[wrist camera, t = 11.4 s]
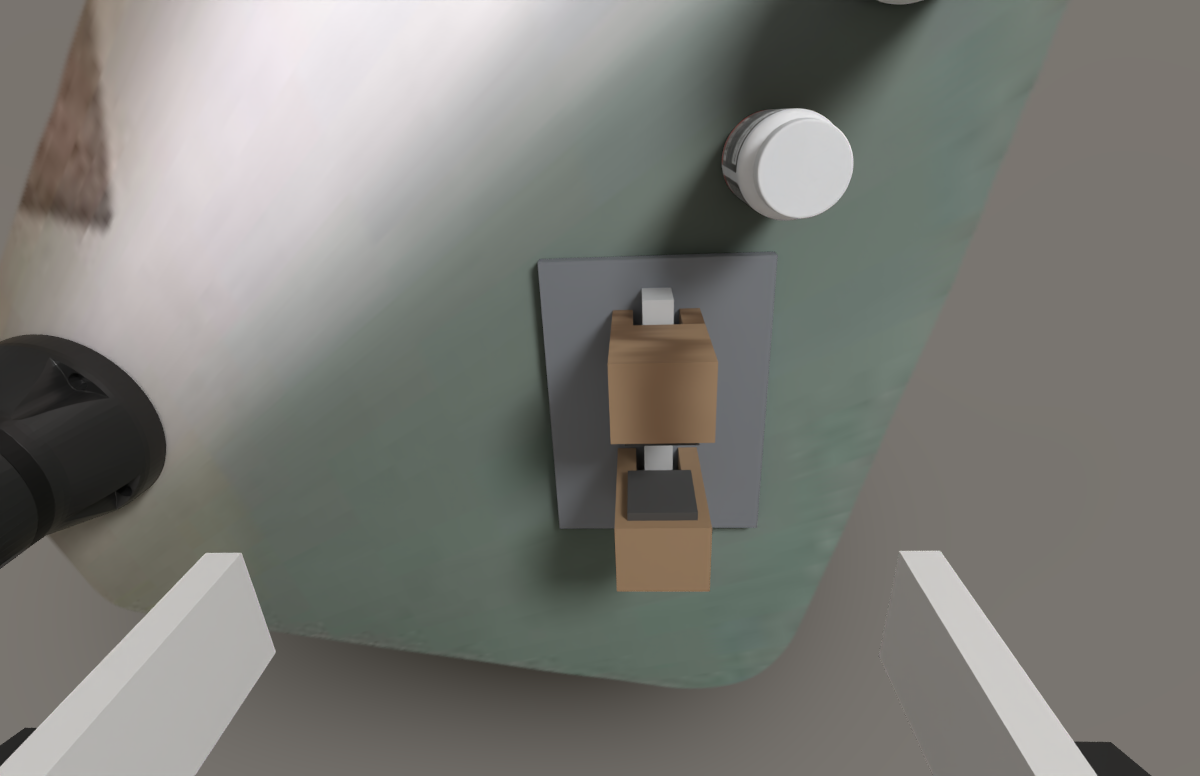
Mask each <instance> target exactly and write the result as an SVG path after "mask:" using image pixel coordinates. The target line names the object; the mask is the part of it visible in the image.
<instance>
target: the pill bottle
mask: <svg viewBox="0 0 1200 776" xmlns="http://www.w3.org/2000/svg"><path fill="white" fill-rule="evenodd" d="M722 171H723V175H724V178H725V181H726V183H727V185H728V187H729V188H730V190H731V191H732V192H733V193H734V194H735V195H736V196H737V197H738V198H739V199H741V200H742V201H743V202H745V203H746V204H747V205H749V206H750V207H751V208H753V209H754V210H755V211H757V212H758V213H760V214H762V215H764V216H766V217H769V218H772V219H776V220H795V219H799V218H808V217H813V216H816V215H818V214H820V213H822V212H824V211H826V210H828V209H829V208H830V207H832V206H833V205H834V204H835V203H836V202H837V201H838V200H839V199H840V198H841V196H842V195H843V194H844V192H845V190H846V189H847V186H848V184H849V182H850V179H851V176H852V171H853V154H852V150H851V146H850V144H849V142H848V140H847V138H846V137H845V135H844V134H843V133H842V132H841V131H840V130H839V129H838V128H837V127H836V126H834V125H833V124H832V123H831V122H830V121H829V120H828V119H827V118H826V117H824V116H823V115H821V114H819V113H817V112H814V111H812V110H807V109H801V108H789V109H769V110H763V111H759V112H756V113H754V114H751V115H750V116H748V117H746V118H745V119H743V120H742V121H741V122H740V123H739V124H738V125H737V126H736V127H735V128H734V129H733V130H732V132H731V133H730V135H729V136H728V138H727V140H726V143H725V146H724V149H723V153H722Z"/></svg>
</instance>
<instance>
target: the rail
mask: <svg viewBox="0 0 1200 776" xmlns="http://www.w3.org/2000/svg"><path fill="white" fill-rule="evenodd" d="M777 257H778V255H777V254H776V253H775V252H748V253H717V254H685V255H653V256H622V257H590V258H558V259H539V261H538V274H539V286H540V298H541V310H542V322H543V334H544V346H545V358H546V370H547V381H548V393H549V405H550V417H551V429H552V441H553V453H554V465H555V477H556V489H557V501H558V513H559V525H560V529H581V528H615V554H616V579H617V591H710V570H711V544H712V528H757V521H758V507H759V494H760V481H761V468H762V455H763V441H764V428H765V415H766V402H767V389H768V375H769V362H770V349H771V336H772V323H773V309H774V296H775V283H776V270H777ZM683 308H700V310H701V313H702V316H703V319H704V322H705V325H706V328H707V331H708V334H709V337H710V339H711V342H712V345H713V348H714V351H715V354H716V357H717V360H718V380H717V405H716V431H715V443H699V445H678V446H625V444H611V438H610V413H609V388H608V355H609V344H610V334H611V323H612V313H613V310H633V325H668V324H679V309H683Z"/></svg>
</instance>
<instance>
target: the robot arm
mask: <svg viewBox="0 0 1200 776" xmlns="http://www.w3.org/2000/svg"><path fill="white" fill-rule="evenodd" d="M165 454H166V443H165V436H164V431H163V428H162V425H161V422H160V419H159V417H158V415H157V413H156V411H155V409H154V407H153V405H152V403H151V402H150V400H149V399H148V397H147V396H146V395H145V393H144V392H143V391H142V389H141V388H140V387H139V386H138V385H137V384H136V382H135V381H134V380H133V379H132V378H131V377H130V376H129V375H128V374H126V373H125V372H124V371H123V370H122V369H121V368H119V367H118V366H117V365H116V364H114V363H113V362H112V361H110V360H109V359H107V358H106V357H104V356H102V355H101V354H99V353H97V352H95V351H94V350H92V349H90V348H88V347H85V346H83V345H81V344H78V343H76V342H73V341H70V340H67V339H63V338H59V337H54V336H48V335H22V336H16V337H12V338H9V339H6V340H3V341H1V342H0V569H1V568H2V567H3V566H5V565H6V564H7V563H9V562H10V561H11V560H13V559H14V558H16V557H17V556H18V555H20V554H21V553H22V552H23V551H25V550H26V549H27V548H29V547H30V546H32V545H33V544H34V543H36V542H37V541H39V540H40V539H41V538H43V537H44V536H46V535H48V534H51V533H54V532H56V531H59V530H62V529H65V528H68V527H70V526H73V525H76V524H79V523H82V522H85V521H87V520H90V519H93V518H96V517H99V516H101V515H104V514H107V513H110V512H113V511H115V510H117V509H119V508H121V507H123V506H125V505H126V504H128V503H129V502H131V501H132V500H133V499H135V498H136V497H137V496H139V495H140V494H141V493H142V492H144V491H145V490H146V489H148V488H149V487H150V486H151V485H152V484H153V483H154V482H155V480H156V479H157V478H158V476H159V474H160V473H161V470H162V468H163V465H164V461H165ZM275 653H276V651H275V648H274V645H273V642H272V639H271V636H270V634H269V631H268V628H267V625H266V622H265V619H264V616H263V613H262V610H261V608H260V605H259V602H258V599H257V596H256V593H255V590H254V587H253V585H252V582H251V579H250V576H249V573H248V570H247V567H246V564H245V561H244V559H243V556H242V553H205V554H204V555H203V556H202V557H201V558H200V559H199V561H198V562H197V563H196V564H195V565H194V566H193V567H192V568H191V569H190V570H189V571H188V572H187V573H186V574H185V575H184V576H183V577H182V578H181V579H180V580H179V581H178V582H177V583H176V584H175V585H174V586H173V588H172V589H171V590H170V591H169V592H168V593H167V594H166V595H165V596H164V597H163V598H162V599H161V600H160V601H159V602H158V603H157V604H156V605H155V606H154V607H153V608H152V609H151V610H150V611H149V612H148V614H147V615H146V616H145V617H144V618H143V619H142V620H141V621H140V622H139V623H138V624H137V625H136V626H135V627H134V628H133V629H132V630H131V631H130V632H129V633H128V634H127V635H126V636H125V637H124V638H123V640H122V641H121V642H120V643H119V644H118V645H117V646H116V647H115V648H114V649H113V650H112V651H111V652H110V653H109V654H108V655H107V656H106V657H105V658H104V659H103V660H102V661H101V662H100V663H99V665H98V666H97V667H96V668H95V669H94V670H93V671H92V672H91V673H90V674H89V675H88V676H87V677H86V678H85V679H84V680H83V681H82V682H81V683H80V684H79V685H78V686H77V688H75V689H74V691H73V692H72V693H71V694H70V695H69V696H68V697H67V698H66V699H65V700H64V701H63V702H62V703H61V704H60V705H59V706H58V707H57V708H56V709H55V710H54V711H53V712H52V713H51V714H50V715H49V717H48V718H47V719H46V720H45V721H44V722H43V723H42V724H41V725H40V726H39V727H38V728H24V729H23V730H21V731H20V732H19V733H17V734H16V735H14V736H13V737H11V738H10V739H9V740H7V741H6V742H5V743H3V744H2V745H0V776H195V775H196V773H197V772H198V770H199V768H200V767H201V765H202V764H203V762H204V761H205V759H206V758H207V756H208V755H209V753H210V752H211V750H212V749H213V747H214V746H215V744H216V743H217V741H218V740H219V738H220V737H221V735H222V734H223V732H224V730H225V729H226V727H227V726H228V724H229V723H230V721H231V720H232V718H233V717H234V715H235V714H236V712H237V711H238V709H239V707H240V706H241V705H242V703H243V702H244V700H245V698H246V697H247V695H248V694H249V692H250V691H251V689H252V688H253V686H254V685H255V683H256V682H257V680H258V679H259V677H260V676H261V674H262V673H263V671H264V669H265V668H266V667H267V665H268V663H269V662H270V660H271V659H272V657H273V656H274V654H275ZM879 658H880V660H881V662H882V664H883V667H884V669H885V671H886V673H887V676H888V678H889V680H890V682H891V685H892V687H893V689H894V691H895V693H896V696H897V698H898V700H899V702H900V705H901V707H902V709H903V711H904V713H905V716H906V718H907V720H908V722H909V724H910V726H911V729H912V731H913V733H914V735H915V738H916V740H917V742H918V744H919V747H920V749H921V751H922V753H923V755H924V757H925V760H926V762H927V764H928V766H929V769H930V771H931V773H932V775H933V776H1151V775H1150V774H1148V773H1147V772H1146V771H1145V770H1144V769H1142V768H1141V767H1140V766H1139V765H1138V764H1136V763H1135V762H1134V761H1133V760H1132V759H1130V758H1129V757H1128V756H1127V755H1126V754H1124V753H1123V752H1122V751H1121V750H1120V749H1118V748H1117V747H1116V746H1115V745H1114V744H1112V743H1111V742H1074V741H1073V740H1072V738H1071V737H1070V736H1069V734H1068V733H1067V731H1066V730H1065V729H1064V727H1063V726H1062V725H1061V723H1060V721H1059V720H1058V718H1057V717H1056V716H1055V714H1054V713H1053V711H1052V710H1051V708H1050V707H1049V706H1048V704H1047V703H1046V702H1045V700H1044V699H1043V697H1042V696H1041V694H1040V693H1039V691H1038V690H1037V689H1036V687H1035V686H1034V684H1033V683H1032V682H1031V680H1030V678H1029V677H1028V676H1027V674H1026V673H1025V671H1024V670H1023V668H1022V667H1021V666H1020V664H1019V663H1018V661H1017V660H1016V659H1015V657H1014V656H1013V654H1012V653H1011V651H1010V650H1009V649H1008V647H1007V646H1006V644H1005V643H1004V641H1003V640H1002V638H1001V637H1000V636H999V634H998V633H997V631H996V630H995V629H994V627H993V626H992V624H991V623H990V621H989V620H988V619H987V617H986V616H985V614H984V613H983V611H982V610H981V608H980V607H979V606H978V604H977V603H976V601H975V600H974V598H973V597H972V596H971V594H970V593H969V591H968V590H967V588H966V587H965V586H964V584H963V583H962V581H961V580H960V578H959V577H958V576H957V574H956V573H955V571H954V570H953V569H952V567H951V566H950V564H949V563H948V561H947V560H946V559H945V557H944V556H943V554H942V553H941V551H899V555H898V560H897V565H896V570H895V576H894V581H893V585H892V591H891V596H890V601H889V606H888V611H887V617H886V621H885V627H884V632H883V637H882V642H881V647H880V652H879Z"/></svg>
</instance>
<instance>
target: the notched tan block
mask: <svg viewBox="0 0 1200 776" xmlns="http://www.w3.org/2000/svg"><path fill="white" fill-rule="evenodd" d="M717 380H718V360H717V357H716V354H715V351H714V348H713V345H712V342H711V339H710V337H709V334H708V331H707V328H706V325H705V322H704V319H703V316H702V313H701V310H700V308H683V309H679V324H668V325H633V310H613V313H612V323H611V334H610V344H609V355H608V388H609V413H610V438H611V444H625V446H678V445H699V443H715V431H716V405H717Z"/></svg>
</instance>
